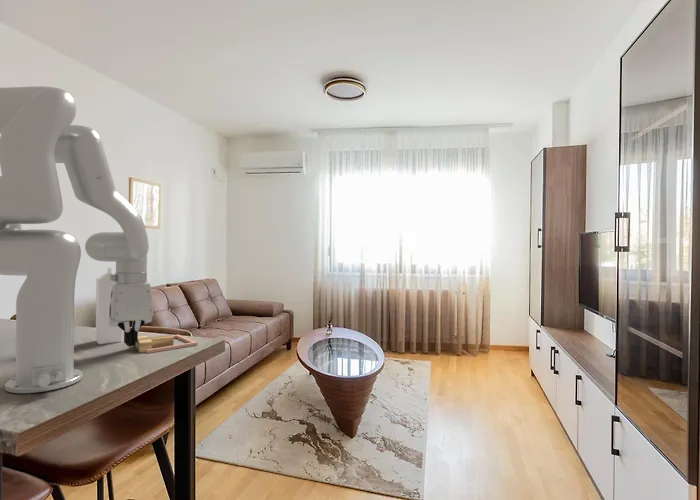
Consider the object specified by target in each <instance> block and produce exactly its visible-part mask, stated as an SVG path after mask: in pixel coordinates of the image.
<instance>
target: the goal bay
mask: <svg viewBox="0 0 700 500" xmlns="http://www.w3.org/2000/svg"><path fill="white" fill-rule="evenodd" d="M171 335H172V334H171ZM172 336H173V340H175V339H178V340H180V341H182V342H184V343H180V344H179V343H178V344H173V346H166V347H158V348H152V349H147V350H146V352H145V353H146V354H150V353H151V354H152V353H153V354H154V353H157V352H165V351H169V350H177V349H182V348H187V347H193V346H194V347H195V346H198V342H197V341H195V340H192V339H190V338H188V337H186V336H183V335H181V334H173V335H172Z"/></svg>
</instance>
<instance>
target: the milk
mask: <svg viewBox="0 0 700 500" xmlns="http://www.w3.org/2000/svg"><path fill="white" fill-rule="evenodd" d="M114 274H115V273H112V268H111V267H109V266H108V267H107V271H106V273H104V274H102V275H99V276H98V277H97V278H96V284H95V285H96V288H95V289H96V291H95V294H96V296H95V298H96V299H95V301H96V302H95V303H96V304H95V308H96V309H95V342H96V343H97V344H98V345H104V344H105V345H106V344H112V343H113V344H114V343H122V342H123V330H122V329H121V328H120V327H114V326H109V324H108V323H109V320H110V318H109V305H110V297H111V291H112V287H113V284H116V282H115V281H113V280H111V281H110V276H113V275H114Z"/></svg>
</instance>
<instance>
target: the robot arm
mask: <svg viewBox="0 0 700 500" xmlns="http://www.w3.org/2000/svg"><path fill="white" fill-rule="evenodd" d="M76 114H77V106H76V102H75V99H74V97H73V96H72V95H71V94H70V93H69V92H68V91H66V90H65V89H61V88H59V87H52V86H20V87H19V86H17V87H14V86H13V87H12V86H10V87H0V173H1V175H0V275H1V276H15V277H16V276H24V277H25V276H26V278H25V280H24V282H23V283H22V284H21V286H20V288H19V290H18V293H17V295H16V300H15V301H16V302H15V314H16V315H15V377H12V378H10V379H9V380H8V381H6V382H5V384H4V390H5V391H6V392H9V393H12V394H33V393H34V394H35V393H43V392H50V391H53V390H54V391H55V390H58V389H61V388H62V389H63V388H65V387H69V386H71V385H74V384H76V383H78V382H79V381H81V380H82V378H83V371H82V370H80V369H75V367H74V366H75V365H74V364H75V363H74V362H75V361H74V360H75V292H76V291H75V290H76V280H77V274H78V270H79V266H80V262H81V257H82V249H81V245H80V243H79V241H78V239H76V238H75V237H74V236H73V235H71V234H69V233H68V232H65V231H63V230H57V229H22V225H37V224H40V225H41V224H48V223H51V222H55V221H57V220H58V219H60V218H61V216H62V214H63V211H64V206H63V198H62V192H61V186H60V181H59V176H58V171H57V165H56V164H64V168H65V170H66V173H67V175H68V179H69V181H70V185H71V187H72V190H73V193H74V196H75V198H76V199H77V200H78V201H80V202H81V203H83V204H85V205H88V206H90V207H92V208H95V209H97V210H99V211H101V212H103V213H105V214H107V215H108V216H110V218H112V219H113V220H115V222H117V223H118V225H119V226H120V228H121V229H122V231H120V232H119V231H117V232H116V231H115V232H113V231H112V232H110V231H108V232H103V231H102V232H97V233H93V234H91V236H90V235H89V237H88V239H86V242H85V245H84V248H85V253H86V254H87V256H89V257H90V258H91V259H93V260H95V261H98V262H109V263H110V262H111V263H112V262H114V263H115V273H113V274H114V275H113V276H110V281H111V280H113V281H115V282H116V284H113V287H112V291H111V297H110V305H109V318H110V320H109V323H108V324H109V326H114V327H120V328H121V329H122V332H123V343H124V345H126V346H127V347H128V348H131V347H136V342H137V341H138V336H139V334H138V332H139V331H140V329H141V328H142V327H143V326H144V325H145V324H148V323H152V322H153V316H154V301H153V294H152V287H151V286H152V285H151V283H149V282H148V281H147V280H148V279H147V278H148V254H149V253H148V252H149V249H150V247H149V245H150V244H149V238H148V233H147V231H146V225H145V223H144V220H143V218H142V216H141V214H140V213H139V211H138V210H137V209H136V208H135V207H134V206H133V204H131V203H130V202H129V201H128V200H127V199H126V198H125V197H124V196H123V195H122V194H120V193H119V192H118V191H117V189H116V187H115V183H114V180H113V179H114V178H113V176H112V173H111V168H110V166H109V162H108V158H107V155H106V151H105V148H104V145H103V142H102V139H101V136H100V135H99V133H98V132H97V131H96V130H95V129H93V128H91V127H89V126H86V125H85V126H84V125H78V124H77V125H76V124H72V123H73V122H74V120H75V118H76ZM130 322H132V324H131V327H130Z"/></svg>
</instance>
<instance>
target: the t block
mask: <svg viewBox="0 0 700 500" xmlns="http://www.w3.org/2000/svg"><path fill="white" fill-rule="evenodd" d="M173 345H174V339H173V336H172V334H169V335H168V334H167V335H160V336H153V337H152V336H148V335H141V336H139V335H138V341H137V342H136V346H135V347H136V349H137V350H138V352H139V353H146V350H147V349H153V348H160V347H166V346H173Z"/></svg>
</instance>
